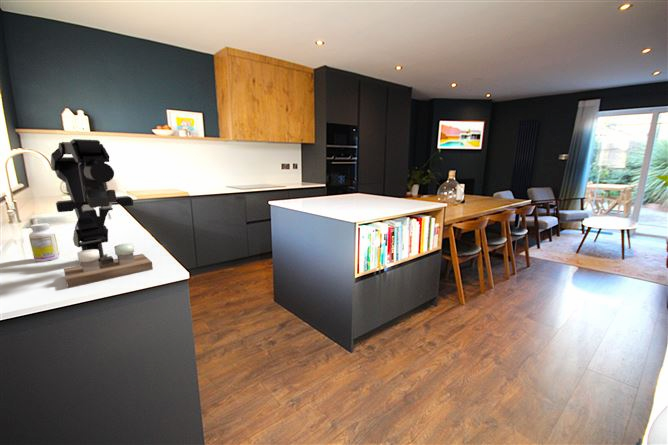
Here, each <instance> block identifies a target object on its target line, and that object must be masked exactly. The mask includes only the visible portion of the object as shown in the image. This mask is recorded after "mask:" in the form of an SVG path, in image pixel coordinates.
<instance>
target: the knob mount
mask: <svg viewBox="0 0 668 445" xmlns="http://www.w3.org/2000/svg"><path fill="white" fill-rule="evenodd" d="M104 255H105V257H104V258H100V261H99V260H98V259H97V260H94V261H89V262H80V263H81V265H78V266H77V265H76V266H71V267H66V268H63V271H64V277H65V280H66V284H67V289H70V288H74V287H80V286H85V285H90V284H92V283H97V282H101V281H105V280H107V281H108V280H111V279H115V278H119V277H123V276H130V275H132V274H133V275H134V274H138V273H141V272H147V271H150V270H151V271H152V270H153V269H154V267H153V262H152V260H150V259H149V257H147V256H146V255H145V254H143V253H139V254H135V255H134V252H133V253H131V254H127V255H116V257H117V258H113V256H112V255H111V256H109V255H108V254H107V253H105V254H104Z"/></svg>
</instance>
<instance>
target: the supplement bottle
mask: <svg viewBox="0 0 668 445" xmlns="http://www.w3.org/2000/svg"><path fill="white" fill-rule="evenodd" d="M30 228H31V230H32V232H30V233H29V235H28V237H29V242H30V247H31V250H32V255H33V259H34V261H35V262H50V261H53V260H56V259H58V258H59V257H60V251H59V246H58V243H57V237H56V233H55V231H54V230H52V229H50V223H48V222H47V223H46V222H45V223H44V222H43V223H36V224H35V223H34V224H31V225H30Z"/></svg>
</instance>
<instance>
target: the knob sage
mask: <svg viewBox="0 0 668 445" xmlns="http://www.w3.org/2000/svg"><path fill="white" fill-rule="evenodd" d="M113 248H114V253H115V256H117V255H127V254H131V253H133V254H134V252H135V248H134V244H133V243H122V244H117V245H115V246H114V247H113Z"/></svg>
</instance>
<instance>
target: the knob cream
mask: <svg viewBox="0 0 668 445" xmlns="http://www.w3.org/2000/svg"><path fill="white" fill-rule="evenodd" d="M76 254H77V259H78V262H80V263H81V262H89V261H94V260H97V259H99V258H100V255H99V250H98V249H91V250H84V251H82V250H81V251H78V252H77V253H76Z"/></svg>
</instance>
